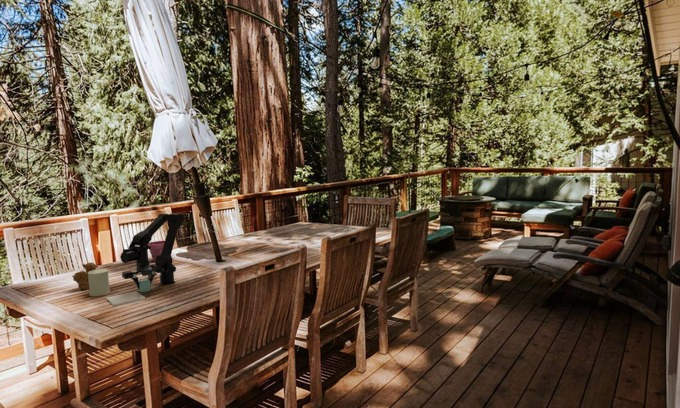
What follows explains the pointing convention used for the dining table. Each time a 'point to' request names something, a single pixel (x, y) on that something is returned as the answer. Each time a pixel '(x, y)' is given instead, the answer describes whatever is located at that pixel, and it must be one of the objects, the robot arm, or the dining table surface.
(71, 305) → the dining table surface
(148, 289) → the cube
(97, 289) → the can
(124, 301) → the plate
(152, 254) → the plant pot
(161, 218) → the robot arm
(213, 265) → the dining table surface
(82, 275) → the stuffed squirrel
